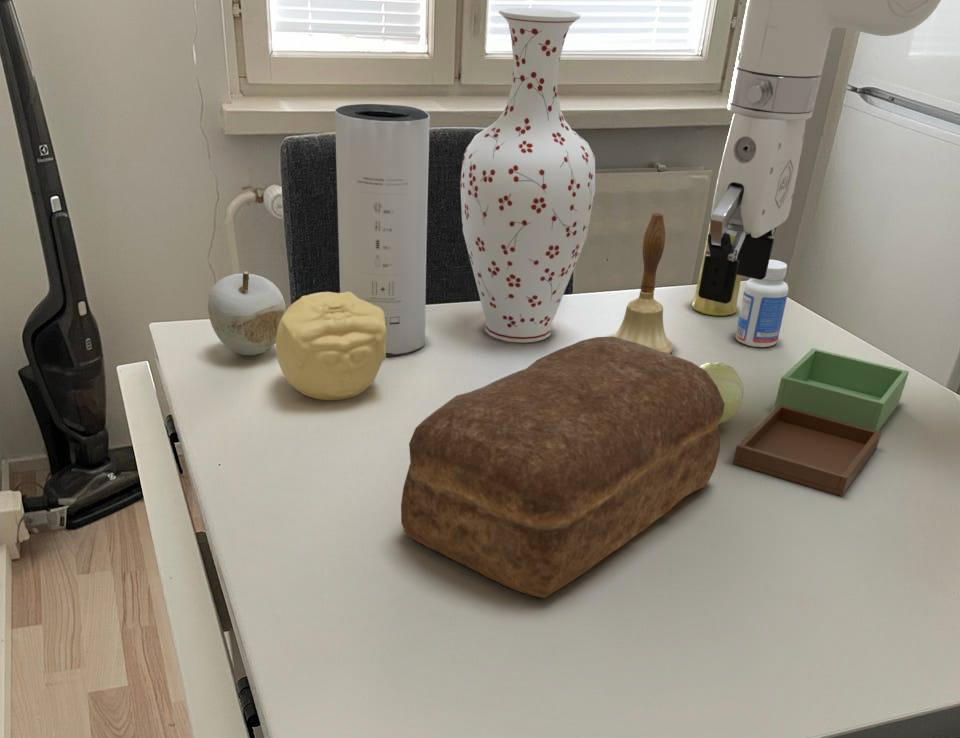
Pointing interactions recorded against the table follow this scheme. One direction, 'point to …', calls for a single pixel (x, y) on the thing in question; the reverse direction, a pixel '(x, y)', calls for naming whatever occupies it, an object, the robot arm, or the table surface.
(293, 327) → the sculpture
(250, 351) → the decorative object
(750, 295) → the pill bottle
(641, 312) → the hand bell
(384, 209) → the speaker
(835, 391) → the green bin
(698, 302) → the vase
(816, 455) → the walnut tray
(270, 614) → the table surface
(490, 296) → the vase
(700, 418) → the bread
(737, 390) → the tennis ball
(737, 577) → the table surface
